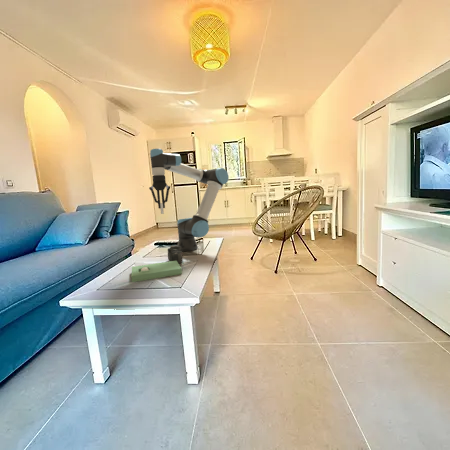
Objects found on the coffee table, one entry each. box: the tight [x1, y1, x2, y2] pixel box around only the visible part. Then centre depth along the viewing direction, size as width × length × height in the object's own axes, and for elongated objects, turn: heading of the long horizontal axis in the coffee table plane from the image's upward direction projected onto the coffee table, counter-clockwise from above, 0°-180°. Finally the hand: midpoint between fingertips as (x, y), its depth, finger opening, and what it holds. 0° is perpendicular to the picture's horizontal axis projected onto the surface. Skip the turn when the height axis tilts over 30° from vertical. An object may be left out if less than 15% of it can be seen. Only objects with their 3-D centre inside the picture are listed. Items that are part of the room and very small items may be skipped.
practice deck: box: [131, 260, 183, 283], centre depth 128 cm, size 24×17×3 cm
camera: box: [167, 245, 184, 265], centre depth 148 cm, size 13×10×10 cm
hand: (162, 213), depth 152 cm, fingers closed
